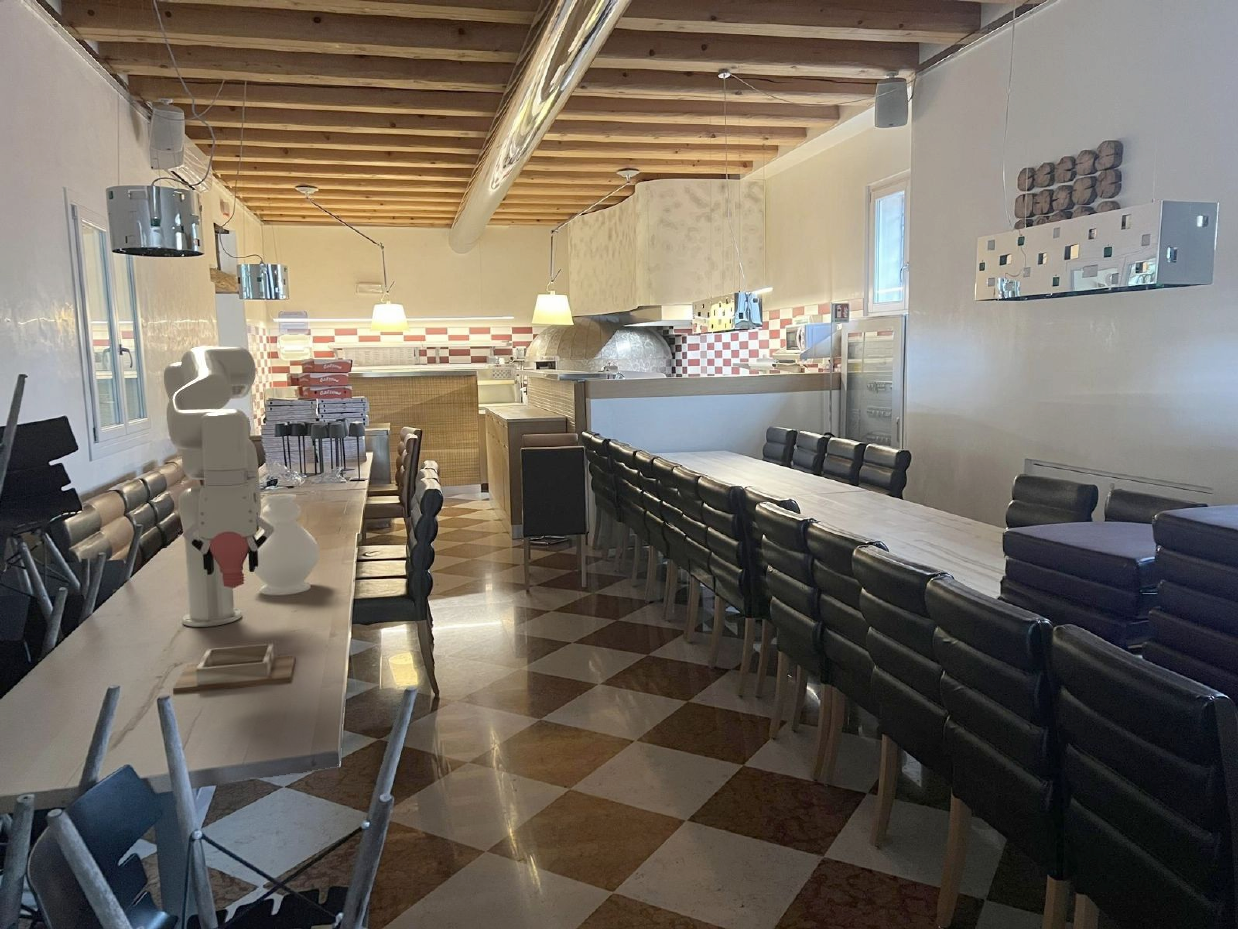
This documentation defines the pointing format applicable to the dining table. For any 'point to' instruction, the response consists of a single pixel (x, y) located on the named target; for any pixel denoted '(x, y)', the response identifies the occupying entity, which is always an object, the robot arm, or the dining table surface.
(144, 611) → the dining table surface
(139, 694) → the dining table surface
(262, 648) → the bulb holder
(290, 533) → the decorative vase
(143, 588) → the dining table surface
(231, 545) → the light bulb
